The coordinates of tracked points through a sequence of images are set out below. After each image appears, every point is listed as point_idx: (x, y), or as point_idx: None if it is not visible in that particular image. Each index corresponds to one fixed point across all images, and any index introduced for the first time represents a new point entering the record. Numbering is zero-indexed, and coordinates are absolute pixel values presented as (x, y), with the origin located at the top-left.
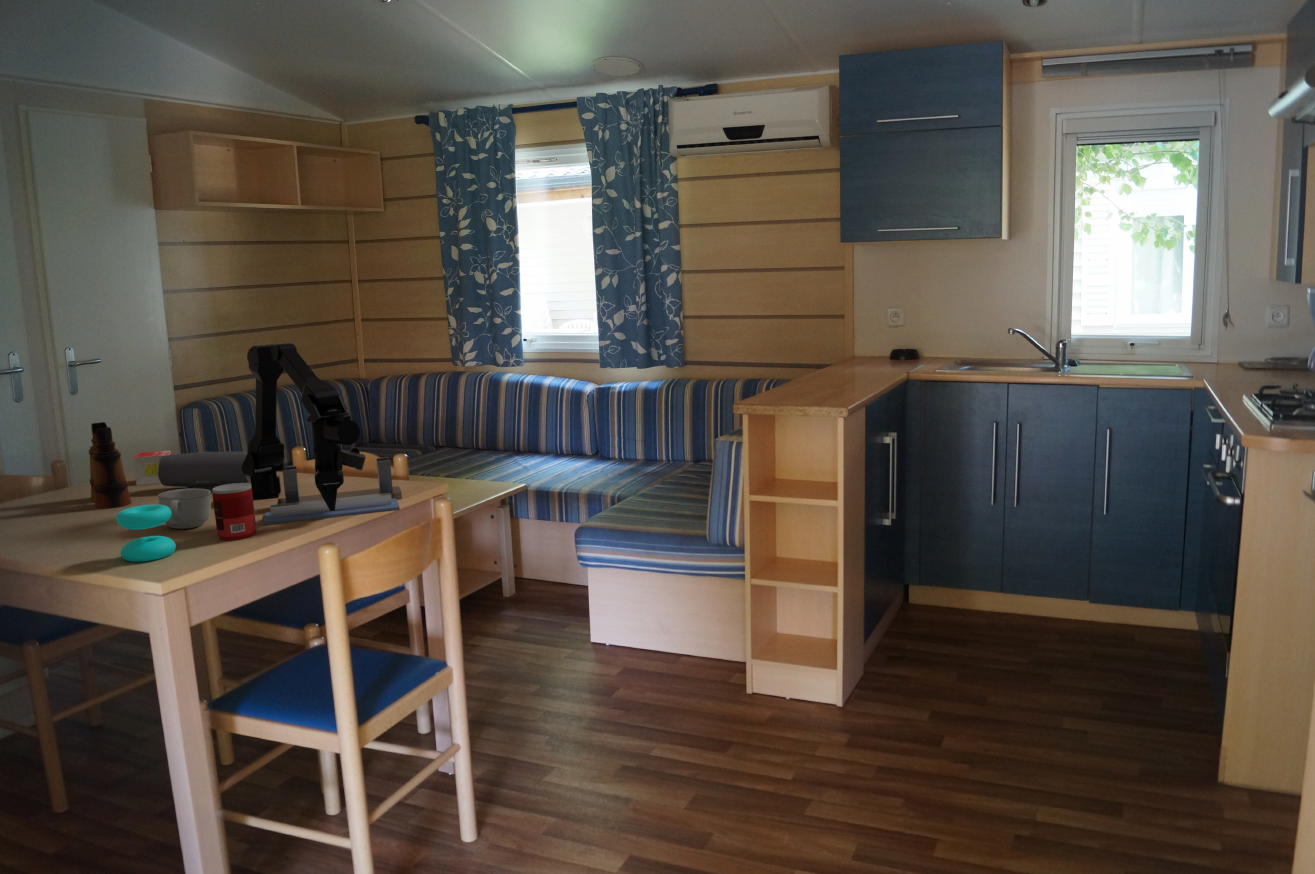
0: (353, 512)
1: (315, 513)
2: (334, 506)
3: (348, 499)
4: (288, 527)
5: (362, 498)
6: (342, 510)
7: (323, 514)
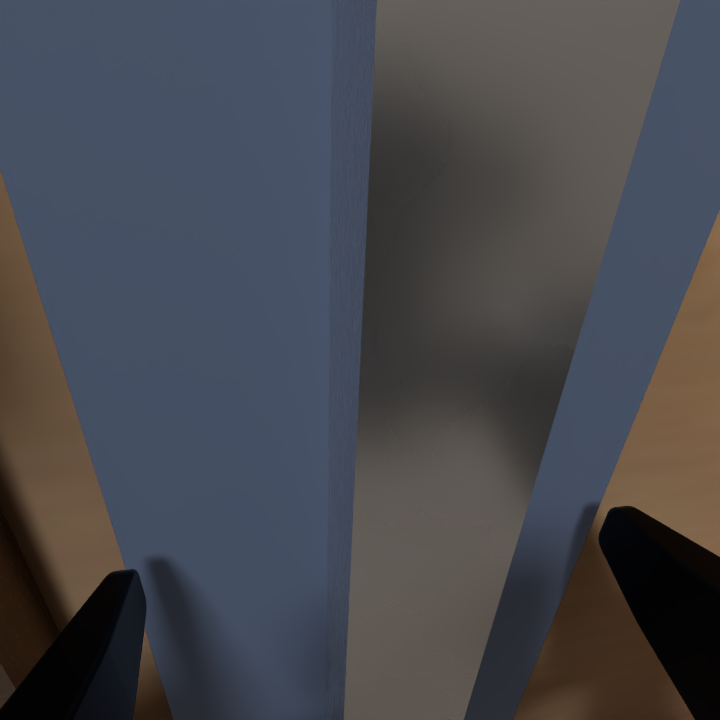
0: (681, 294)
1: None
2: (679, 542)
3: (545, 434)
4: (647, 660)
5: (619, 157)
6: None
7: (545, 558)
